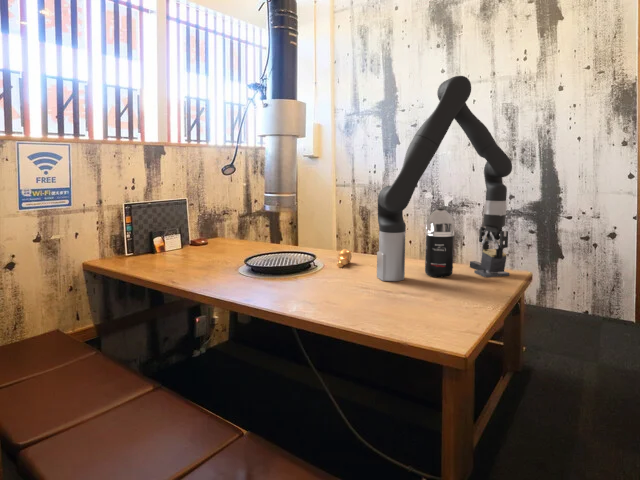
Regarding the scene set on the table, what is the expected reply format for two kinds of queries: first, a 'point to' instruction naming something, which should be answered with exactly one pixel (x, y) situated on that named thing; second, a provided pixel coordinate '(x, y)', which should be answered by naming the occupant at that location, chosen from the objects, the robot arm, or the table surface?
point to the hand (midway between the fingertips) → (491, 256)
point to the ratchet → (483, 272)
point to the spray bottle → (439, 244)
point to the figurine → (344, 258)
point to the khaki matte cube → (492, 261)
